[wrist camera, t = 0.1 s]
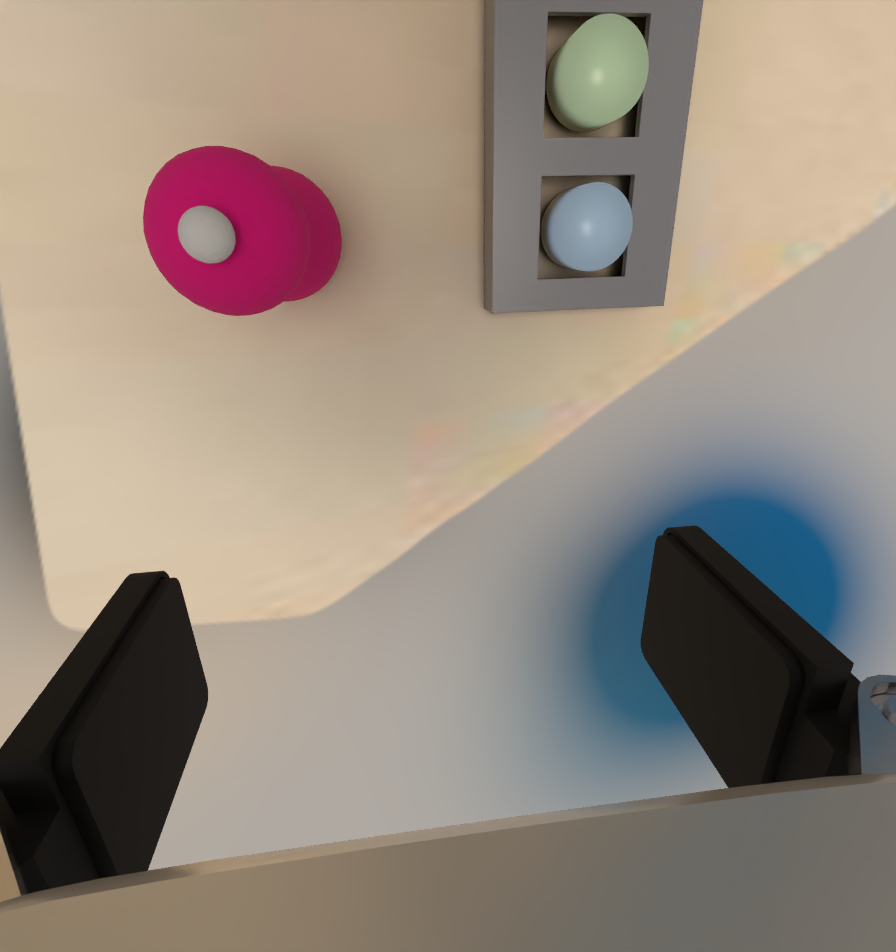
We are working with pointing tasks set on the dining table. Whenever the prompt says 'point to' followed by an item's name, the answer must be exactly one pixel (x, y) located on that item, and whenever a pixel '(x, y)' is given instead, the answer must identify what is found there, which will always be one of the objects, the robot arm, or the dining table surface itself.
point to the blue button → (587, 226)
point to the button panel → (580, 154)
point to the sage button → (598, 73)
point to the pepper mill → (239, 231)
